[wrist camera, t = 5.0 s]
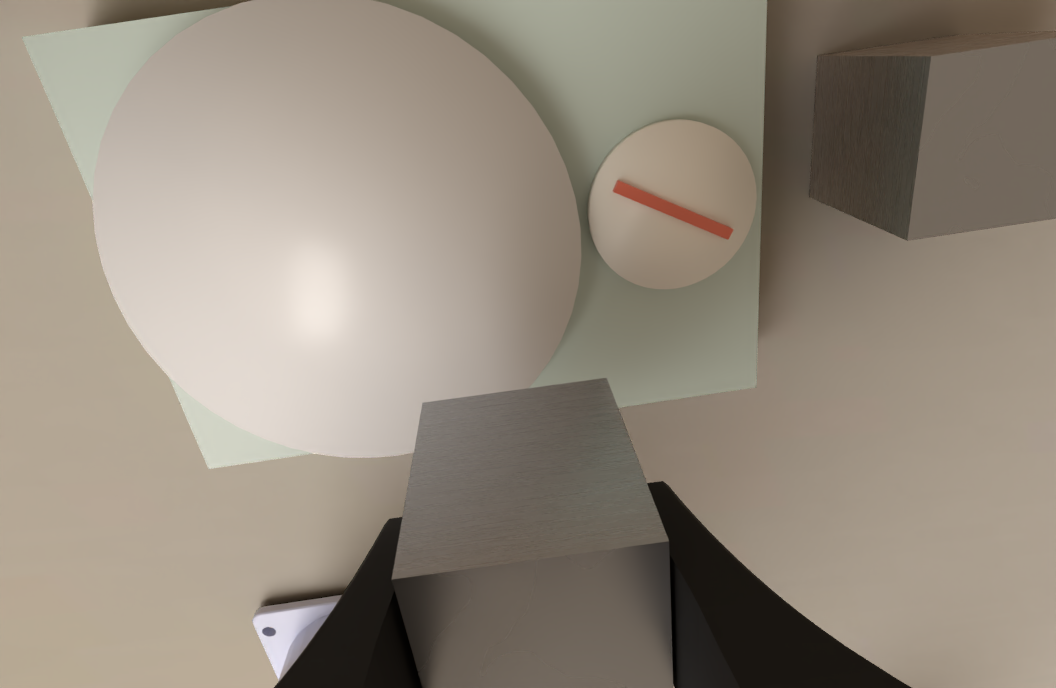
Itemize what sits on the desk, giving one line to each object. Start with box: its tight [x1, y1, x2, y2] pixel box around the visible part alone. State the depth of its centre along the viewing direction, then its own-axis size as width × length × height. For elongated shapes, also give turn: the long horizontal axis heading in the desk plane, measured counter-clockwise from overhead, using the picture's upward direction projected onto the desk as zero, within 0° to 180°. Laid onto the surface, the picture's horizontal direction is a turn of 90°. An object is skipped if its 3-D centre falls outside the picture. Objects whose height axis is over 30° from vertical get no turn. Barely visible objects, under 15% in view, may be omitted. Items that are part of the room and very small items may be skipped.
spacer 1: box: [392, 378, 673, 688], centre depth 12 cm, size 4×4×5 cm
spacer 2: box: [809, 31, 1056, 241], centre depth 16 cm, size 4×4×5 cm
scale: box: [22, 0, 767, 469], centre depth 17 cm, size 12×17×3 cm
